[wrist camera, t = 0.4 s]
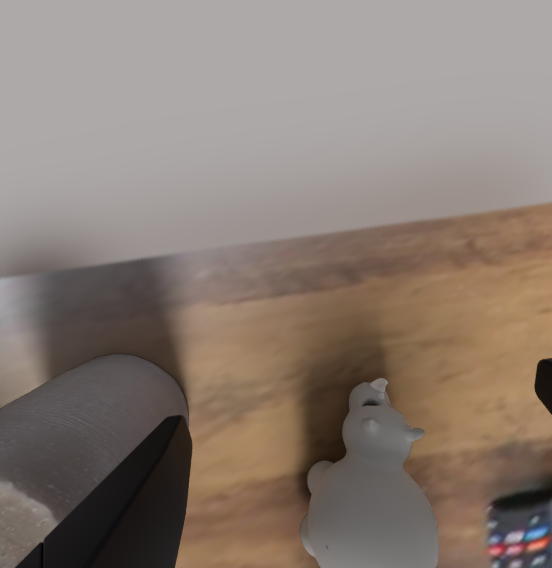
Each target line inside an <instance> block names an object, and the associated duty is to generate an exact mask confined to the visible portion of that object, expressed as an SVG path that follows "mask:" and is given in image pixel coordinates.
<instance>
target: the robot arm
mask: <svg viewBox="0 0 552 568" xmlns="http://www.w3.org/2000/svg"><path fill="white" fill-rule="evenodd" d="M535 392H536V394H537V396H538V398H539V399H540V400H541V402H542V403H543V404H544V405H545V407H546V408H547V409H548V411H549V412H550V413H551V414H552V358H548V359H542V360H540V361H539V363H538V365H537V371H536V379H535ZM191 457H192V439H191V436H190V432H189V429H188V425H187V422H186V419H185V417H184V415H182V414H180V415H173V416H168V417H166V418H165V419H164V420H163V421H162V422H161V423H160V424H159V425H158V426H157V427H156V428H155V429H154V430H153V431H152V432H151V433H150V434H149V435H148V436H147V437H146V438H145V439H144V440H143V441H142V442H141V443H140V444H139V445H138V446H137V447H136V448H135V449H134V450H133V451H132V452H131V453H130V454H129V455H128V456H127V457H126V458H125V459H124V460H123V461H122V462H120V463H119V464H118V465H117V466H116V467H115V468H114V469H113V470H112V471H111V472H110V473H109V474H108V475H107V476H106V477H105V478H104V479H103V480H102V481H101V482H100V483H99V484H98V485H97V486H96V487H95V488H94V489H93V490H92V491H91V492H90V493H89V494H88V495H87V496H86V497H85V498H84V499H83V500H82V501H81V502H80V503H79V504H78V505H77V506H76V507H75V508H74V509H73V510H72V511H71V512H70V513H69V514H68V515H67V516H66V517H65V518H64V519H63V520H62V521H61V522H60V523H59V524H58V525H57V526H56V527H55V528H54V529H53V530H52V531H51V532H50V533H49V534H48V535H47V536H46V537H45V538H44V540H43V542H40V543H39V544H38V545H37V546H36V547H35V548H34V549H33V550H32V551H31V552H30V553H29V554H28V555H27V556H26V557H25V558H24V559H22V560H21V561H20V562H19V563H18V564H17V565H16V566H15V567H14V568H175V564H176V560H177V555H178V550H179V545H180V540H181V535H182V530H183V525H184V520H185V514H186V507H187V498H188V488H189V478H190V468H191Z"/></svg>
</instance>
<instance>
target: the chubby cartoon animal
mask: <svg viewBox="0 0 552 568" xmlns="http://www.w3.org/2000/svg"><path fill="white" fill-rule="evenodd" d="M387 384H388V382H387V380H386V379H384V378H379V379H376V380H374V381H373V382H370V383H368V382H362V383H361V384H359V385H357V386H356V387H355V388H354V389H353V390H352V392H351V394H350V397H349V408H350V411H349V413H348V415H347V417H346V419H345V421H344V424H343V428H342V436H343V441H344V443H345V446H346V449H347V453H346V455H345V457H344V458H343V459H341V460H340V461H338V462H336V463H332V462H330V461H319V462H317V463H316V464H314V465H313V466H312V467H311V469H310V471H309V473H308V476H307V484H308V488H309V490H310V492H311V494H312V496H311V499H310V504H309V510H308V514H307V515H306V516H305V517H304V518H303V520H302V522H301V525H300V538H301V541H302V544H303V546H304V548H305V549H306V550H307V552H308V553H309V554H310V555H312V556H313V557H315V558H316V560H317V562H318V564H319V566H320V568H436V567H437V563H438V557H439V533H438V527H437V523H436V519H435V516H434V513H433V510H432V508H431V505H430V503H429V501H428V499H427V497H426V496H425V494H424V492H423V491H422V489H421V488H420V487H419V485H418V484H417V483H416V482H415V481H414V480H413V479H412V478H411V477H410V476H409V475H408V474H407V473H406V471H405V470H404V469H403V464H404V462H405V461H406V459H407V458H408V456H409V454H410V451H411V447H412V441H415V440H418V439H420V438H421V437H423V436H424V434H425V432H424V431H423V430H422V429H420V428H411V427H410V426H409V425H408V423H407V421H406V419H405V416H404V415H403V414H402V413H400V412H399V411H397V410H395V409H393V408H392V406H391V403H390V400H389V397H388V395H387V393H386V391H385V387H386V385H387Z"/></svg>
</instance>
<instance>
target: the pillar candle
mask: <svg viewBox="0 0 552 568" xmlns="http://www.w3.org/2000/svg"><path fill="white" fill-rule="evenodd" d="M180 414H182V415H184V417H185V419H186V422H187V425H188V426H189V417H188V408H187V403H186V400H185V397H184V395H183V393H182V391H181V389H180V387H179V385H178V384H177V382H176V381H175V380H174V379H173V378H172V377H171V376H170V375H169V374H167V373H166V372H165V371H163V370H162V369H161V368H159V367H158V366H156V365H155V364H153V363H151V362H149V361H147V360H145V359H142V358H140V357H137V356H133V355H126V354H112V355H108V356H100V357H97V358H94V359H92V360H90V361H88V362H86V363H84V364H81V365H79V366H77V367H75V368H73V369H70V370H68V371H67V372H65V373H63V374H61V375H59V376H57V377H55V378H53V379H52V380H50V381H48V382H46V383H44V384H43V385H41V386H39V387H38V388H36V389H34V390H32V391H31V392H29V393H27V394H25V395H24V396H22V397H20V398H18V399H16V400H14V401H12V402H11V403H9V404H7V405H5V406H4V407H2V408H1V409H0V568H14V567H15V566H16V565H17V564H18V563H19V562H20V561H21V560H22V559H24V558H25V557H26V556H27V555H28V554H29V553H30V552H31V551H32V550H33V549H34V548H35V547H36V546H37V545H38V544H39V543H40V542H43V540H44V538H45V537H46V536H47V535H48V534H49V533H50V532H51V531H52V530H53V529H54V528H55V527H56V526H57V525H58V524H59V523H60V522H61V521H62V520H63V519H64V518H65V517H66V516H67V515H68V514H69V513H70V512H71V511H72V510H73V509H74V508H75V507H76V506H77V505H78V504H79V503H80V502H81V501H82V500H83V499H84V498H85V497H86V496H87V495H88V494H89V493H90V492H91V491H92V490H93V489H94V488H95V487H96V486H97V485H98V484H99V483H100V482H101V481H102V480H103V479H104V478H105V477H106V476H107V475H108V474H109V473H110V472H111V471H112V470H113V469H114V468H115V467H116V466H117V465H118V464H119V463H120V462H122V461H123V460H124V459H125V458H126V457H127V456H128V455H129V454H130V453H131V452H132V451H133V450H134V449H135V448H136V447H137V446H138V445H139V444H140V443H141V442H142V441H143V440H144V439H145V438H146V437H147V436H148V435H149V434H150V433H151V432H152V431H153V430H154V429H155V428H156V427H157V426H158V425H159V424H160V423H161V422H162V421H163V420H164V419H165V418H166V417H168V416H173V415H180Z"/></svg>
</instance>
